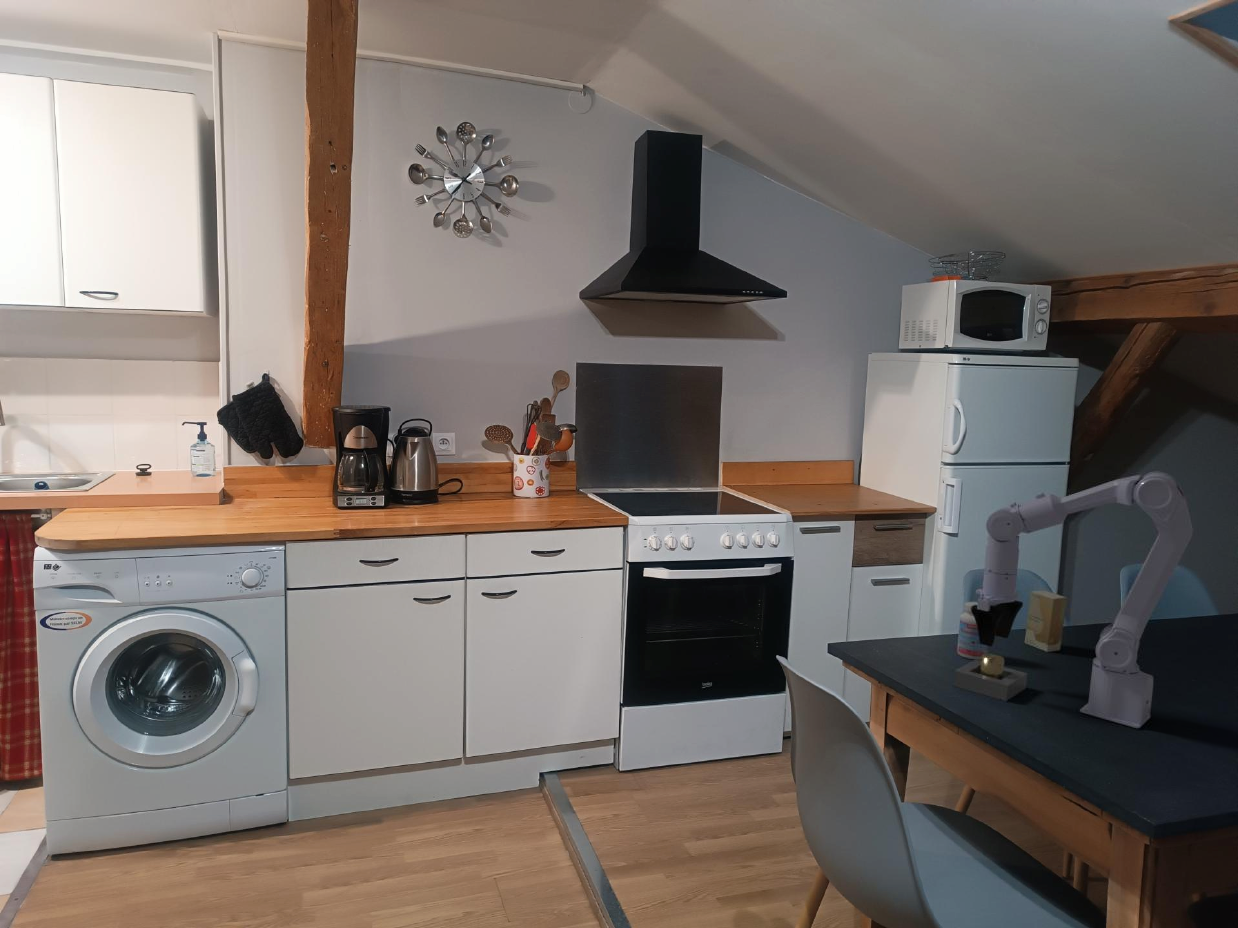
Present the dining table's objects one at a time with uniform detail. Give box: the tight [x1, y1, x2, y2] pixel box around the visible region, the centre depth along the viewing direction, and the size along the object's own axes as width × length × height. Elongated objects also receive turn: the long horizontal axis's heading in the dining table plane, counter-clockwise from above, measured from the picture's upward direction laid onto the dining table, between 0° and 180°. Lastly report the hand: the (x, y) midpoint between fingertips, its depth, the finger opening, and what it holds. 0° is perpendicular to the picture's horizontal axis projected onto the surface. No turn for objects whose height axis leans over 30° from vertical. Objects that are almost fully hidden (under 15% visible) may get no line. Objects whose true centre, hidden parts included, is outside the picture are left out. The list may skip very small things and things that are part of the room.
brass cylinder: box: [980, 653, 1005, 680], centre depth 167 cm, size 4×4×6 cm
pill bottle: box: [956, 601, 989, 661], centre depth 185 cm, size 6×6×11 cm
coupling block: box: [952, 659, 1028, 702], centre depth 167 cm, size 10×10×3 cm
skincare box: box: [1024, 589, 1068, 653], centre depth 193 cm, size 6×4×12 cm
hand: (994, 640), depth 166 cm, fingers open, 7 cm apart
